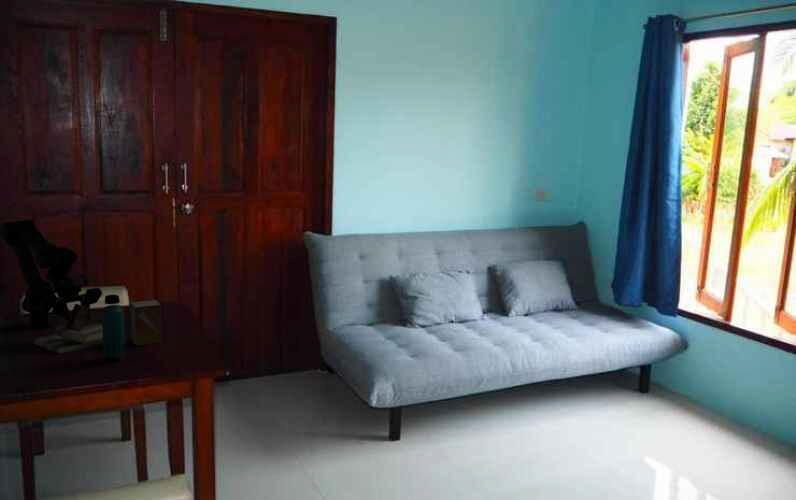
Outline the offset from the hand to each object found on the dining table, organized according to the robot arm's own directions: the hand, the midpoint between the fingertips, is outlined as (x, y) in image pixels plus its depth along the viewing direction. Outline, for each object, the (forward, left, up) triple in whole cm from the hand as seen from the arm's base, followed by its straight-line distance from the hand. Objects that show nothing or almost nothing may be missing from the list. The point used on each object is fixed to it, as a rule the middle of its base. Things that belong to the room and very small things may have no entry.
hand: (81, 321), depth 219 cm
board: (-6, +2, -8) cm, 10 cm away
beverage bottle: (+18, -1, -8) cm, 20 cm away
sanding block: (-2, -3, -5) cm, 6 cm away
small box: (+11, +15, -8) cm, 21 cm away
